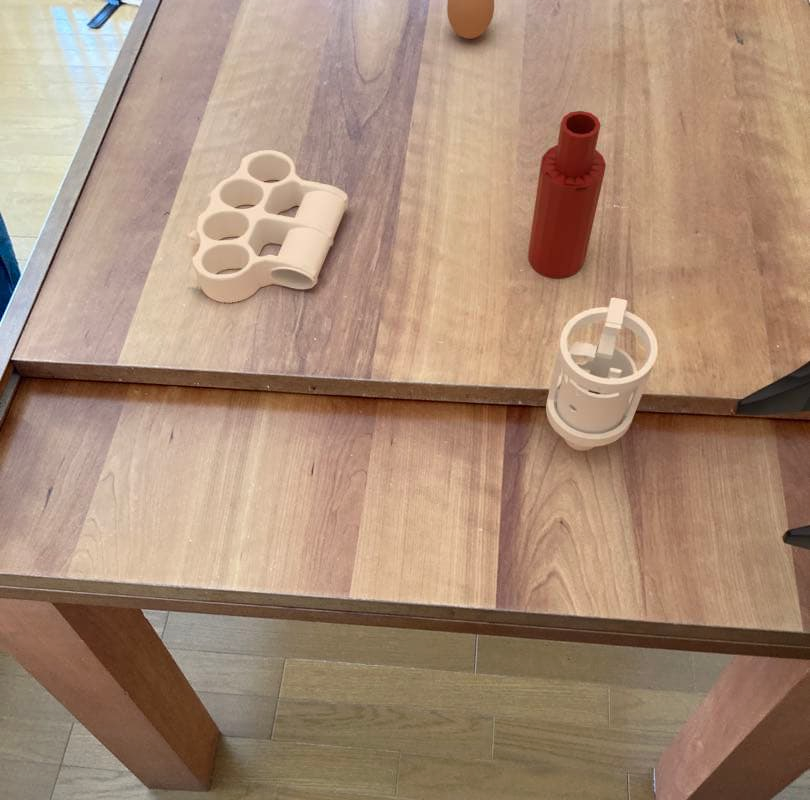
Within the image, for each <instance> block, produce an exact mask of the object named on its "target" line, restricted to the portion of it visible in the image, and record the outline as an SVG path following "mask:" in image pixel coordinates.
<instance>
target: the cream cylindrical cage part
mask: <svg viewBox="0 0 810 800" xmlns="http://www.w3.org/2000/svg"><path fill="white" fill-rule="evenodd" d="M627 306H628V300H626V299H623V298H618V297H611V298H610V300H609V304H608V306H606V307H605V306H601V307H593V308H590V309H586V310H583V311H581V312H579V313H577V314H575V315H574V316H573V317H572V318H570V320H568V322H567V323H566V324H565V326H564V327H563V329H562V331H561V334H560V338H559V343H558V346H557V347H558V348H557V353H556V357H555V361H554V366H553V371H552V376H551V379H550V386H549V390H548V393H547V394H548V395H547V399H546V404H545V413H546V416H547V420H548V423H549V424H550V426H551V427H552V429H553V430H554V431H555V432H556V433H557V434H558V435H559V436H560V437H562V438H563V440H564V441H565V443H566V445H568V446H569V447H570V448H572V449H574V450H576V451H581V452H583V451H589V450H592V449H594V447H602V446H607V445H609V444H612V443H615V442H616V441H617V440H620V439H621V438H622V437H623V436H624V435H625V434H626V433H627V431H628V430H629V429H630V426H631V425H632V421H633V420H634V416H635V414H636V411H637V409H638V406H639V404H640V401H641V398H642V396H643V393H644V391H645V388H646V387H647V384H648V380H649V378H650V375H651V374H652V370H653V368H654V366H655V363H656V361H657V357H658V351H659V349H658V348H659V345H658V341H657V338H656V335H655V333H654V331H653V330H652V329H651V327H650V326H649V325H648V324H647V322H646V321H644V320H643V319H642V318H641V317H639V316H638V315H636V314H634V313H632V312H630V311H627ZM596 323H603V325H602V329H601V333H600V338H599V342H596V344H595V345H593V343H589V342H585V343H583V342H580V341H579V340H577V341H576V342H574V343H573V344H572V345H571V347H570V348H569V349H568V341H569V339H570V337H571V336H572V335H573V334H574V333H575V332H576V331H578V330H579V329H581V328H582V327H585V326H587V325H590V324H591V325H592V324H596ZM622 327H623V328H626V329H628V330H629V331H631V332H633V333H634V334H635V335H636V336H637V337H638V338H639V339H640V341H641V342H642V344H645V347H646V349H645V350H646V355H647V356H646V358H645V362H644V364H643V366H642V367H641V368H640V369H639V370H638V368H637V365H636V363H635V360H634V359H633V358H632V357H631V355H630V354H629V353H628V352H626V351H625V350H624V349H622V348H620V347H619V346H617V345H616V341H617V338H618V336H619V334H620V333H621V329H622ZM577 359H578V360H581V361H582V360H584V361H586V362H580V361H579V362H577ZM562 370H563V371H562ZM561 371H562V374H561Z"/></svg>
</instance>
